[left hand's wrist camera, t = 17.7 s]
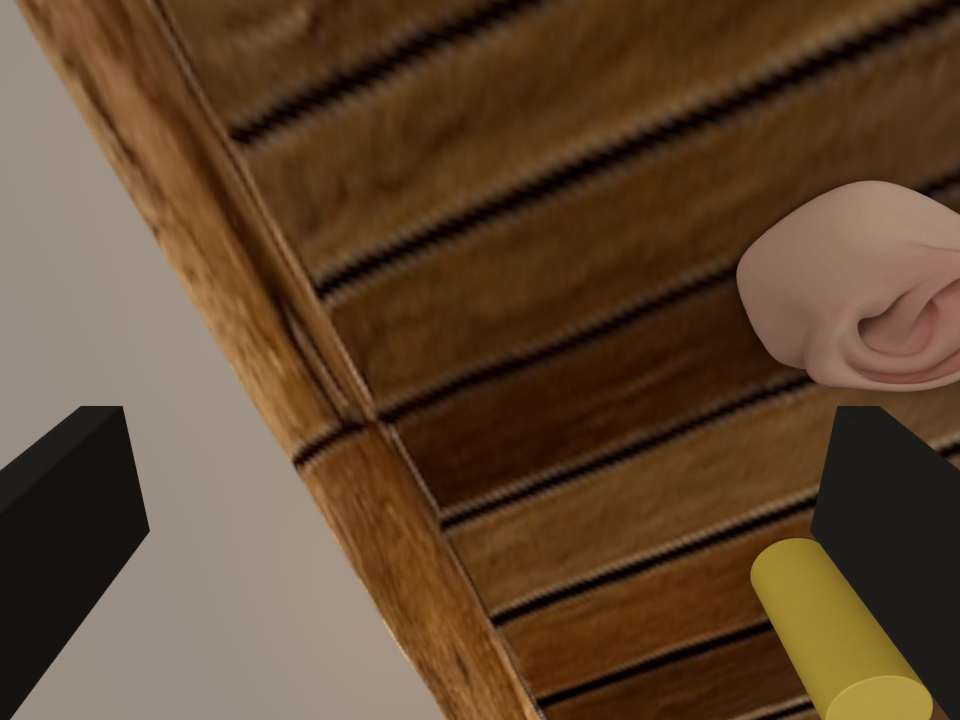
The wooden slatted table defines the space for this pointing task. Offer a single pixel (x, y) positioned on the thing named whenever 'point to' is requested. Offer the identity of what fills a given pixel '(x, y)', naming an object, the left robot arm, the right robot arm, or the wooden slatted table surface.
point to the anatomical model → (860, 289)
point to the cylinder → (835, 638)
